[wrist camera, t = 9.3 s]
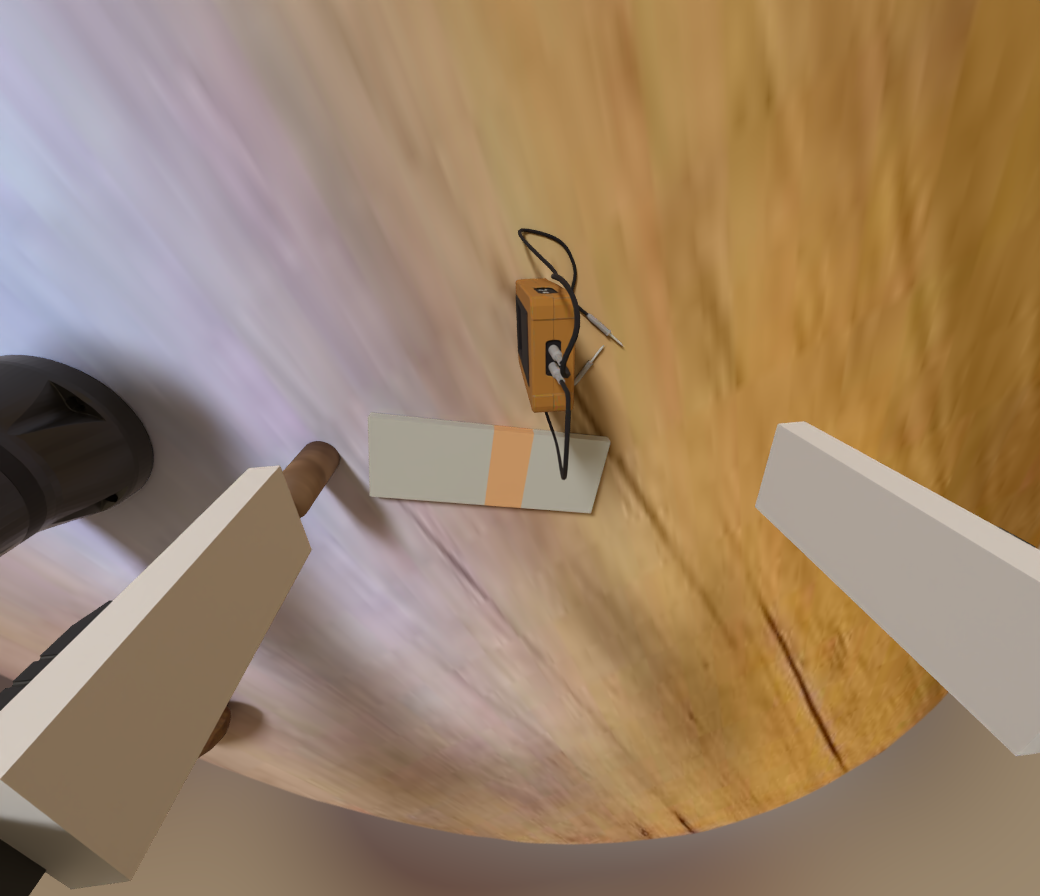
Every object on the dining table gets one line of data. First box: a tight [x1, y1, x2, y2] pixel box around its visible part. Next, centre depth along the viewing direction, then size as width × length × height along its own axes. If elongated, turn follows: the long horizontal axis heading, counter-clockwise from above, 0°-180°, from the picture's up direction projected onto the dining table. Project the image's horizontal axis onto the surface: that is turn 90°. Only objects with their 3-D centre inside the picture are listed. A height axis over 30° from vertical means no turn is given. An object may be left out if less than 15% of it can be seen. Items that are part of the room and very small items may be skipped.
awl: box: [283, 441, 340, 518], centre depth 36 cm, size 4×4×11 cm
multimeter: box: [516, 228, 623, 480], centre depth 27 cm, size 15×10×20 cm
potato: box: [198, 706, 231, 758], centre depth 54 cm, size 7×12×7 cm, turn 131°
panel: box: [368, 412, 610, 513], centre depth 42 cm, size 24×9×1 cm, turn 82°
